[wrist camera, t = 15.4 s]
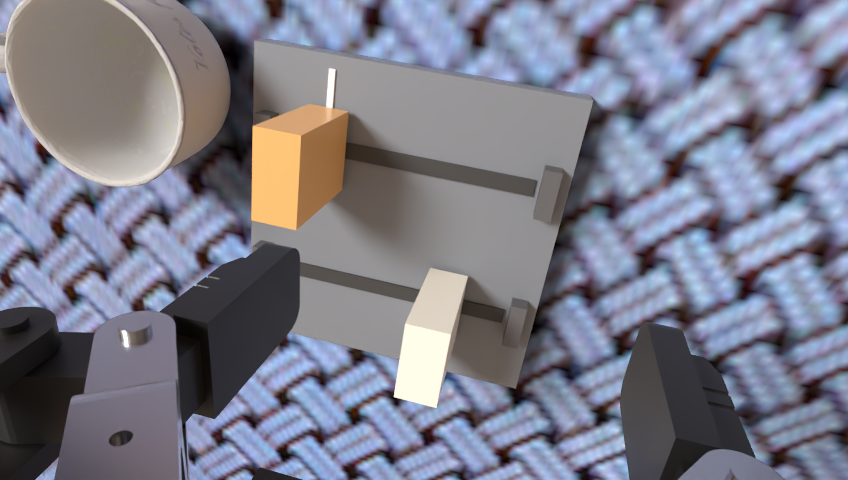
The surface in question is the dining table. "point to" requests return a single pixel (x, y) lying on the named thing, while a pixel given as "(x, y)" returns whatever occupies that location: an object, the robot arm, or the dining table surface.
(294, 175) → the fader orange
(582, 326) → the dining table surface
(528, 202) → the console
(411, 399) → the fader ivory
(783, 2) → the dining table surface
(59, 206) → the dining table surface
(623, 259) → the dining table surface
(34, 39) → the teacup
